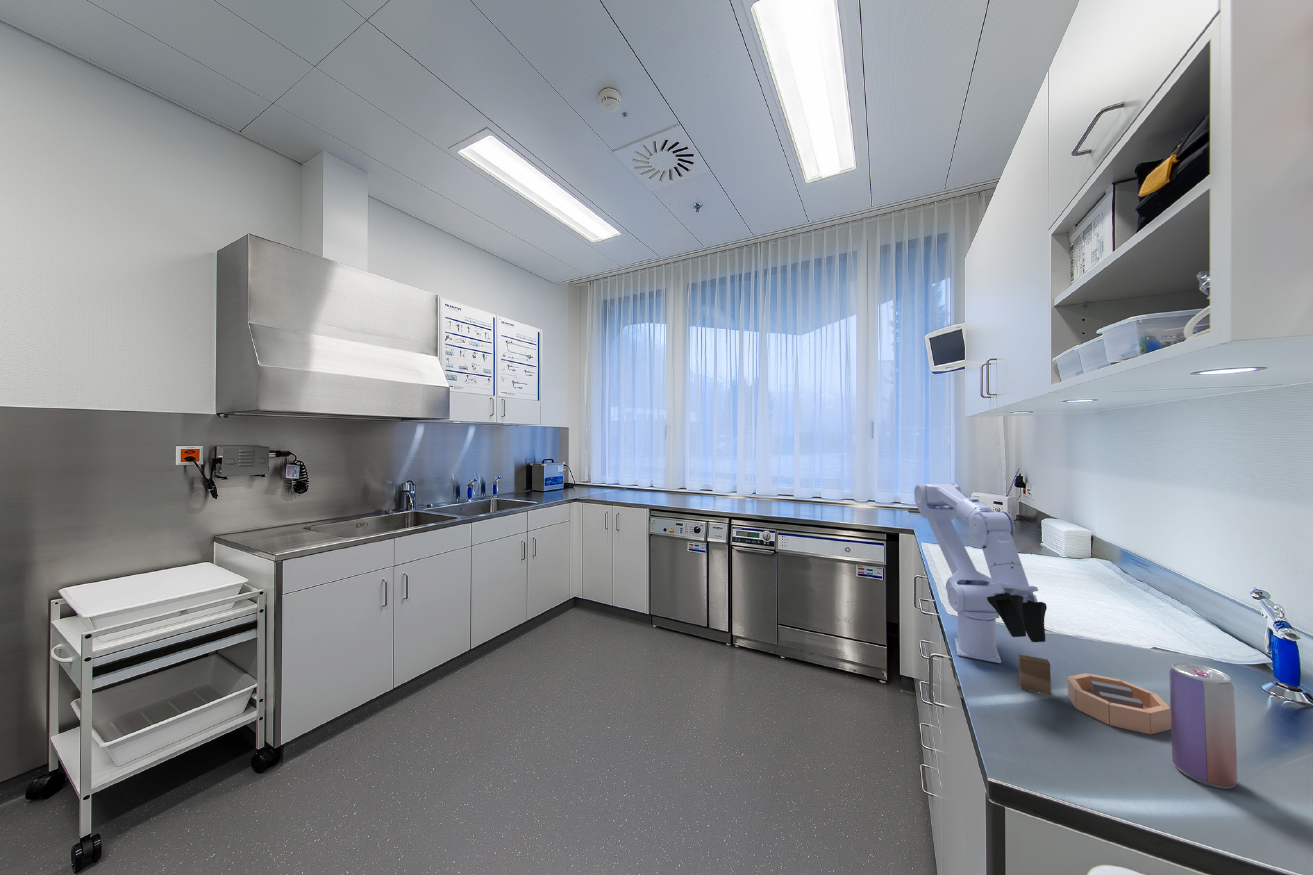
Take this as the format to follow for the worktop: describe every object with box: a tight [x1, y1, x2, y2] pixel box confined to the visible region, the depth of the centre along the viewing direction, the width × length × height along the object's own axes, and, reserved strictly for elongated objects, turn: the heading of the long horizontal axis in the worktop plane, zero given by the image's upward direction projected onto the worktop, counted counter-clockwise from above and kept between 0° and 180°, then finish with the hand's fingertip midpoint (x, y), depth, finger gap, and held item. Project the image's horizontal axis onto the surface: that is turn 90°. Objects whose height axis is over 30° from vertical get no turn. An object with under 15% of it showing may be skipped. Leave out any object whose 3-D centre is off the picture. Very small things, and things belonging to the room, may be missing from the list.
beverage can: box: [1168, 661, 1238, 790], centre depth 65 cm, size 6×6×15 cm
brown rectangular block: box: [1017, 653, 1052, 696], centre depth 87 cm, size 2×4×6 cm, turn 59°
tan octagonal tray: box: [1066, 672, 1171, 735], centre depth 80 cm, size 12×12×4 cm
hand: (1029, 639), depth 85 cm, fingers open, 7 cm apart
